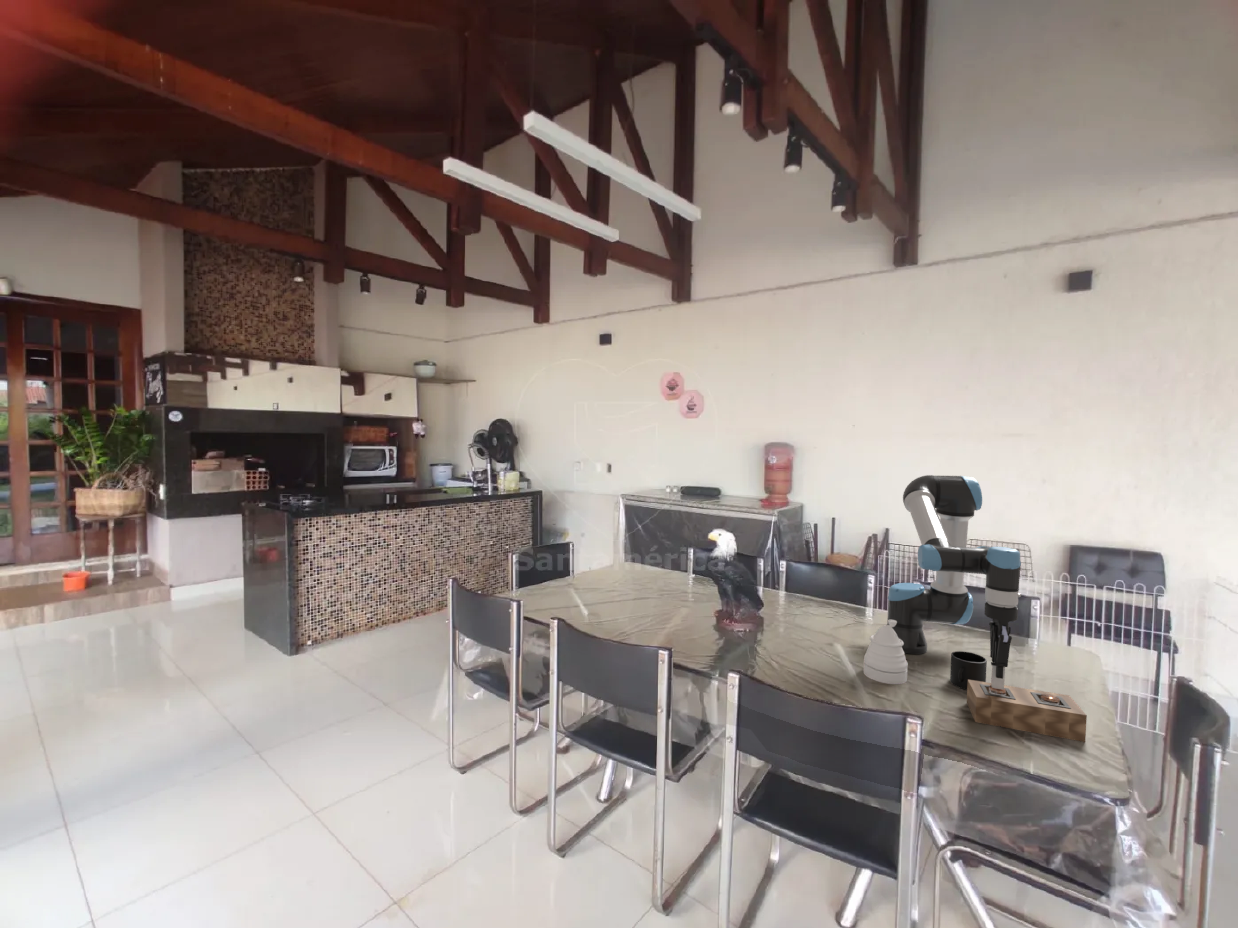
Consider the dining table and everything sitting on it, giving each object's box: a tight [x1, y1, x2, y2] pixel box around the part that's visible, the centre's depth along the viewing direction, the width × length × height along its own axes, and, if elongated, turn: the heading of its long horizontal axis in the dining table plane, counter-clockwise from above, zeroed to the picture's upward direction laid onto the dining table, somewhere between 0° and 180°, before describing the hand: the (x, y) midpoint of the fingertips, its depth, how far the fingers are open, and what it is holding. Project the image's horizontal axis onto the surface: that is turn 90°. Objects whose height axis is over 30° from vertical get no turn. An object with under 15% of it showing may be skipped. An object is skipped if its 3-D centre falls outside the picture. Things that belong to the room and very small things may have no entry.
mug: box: [949, 650, 988, 691], centre depth 172 cm, size 9×12×9 cm
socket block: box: [966, 680, 1088, 743], centre depth 150 cm, size 24×12×7 cm, turn 67°
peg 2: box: [1041, 694, 1060, 705], centre depth 148 cm, size 4×4×7 cm
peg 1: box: [988, 685, 1006, 696], centre depth 153 cm, size 4×4×7 cm
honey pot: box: [863, 619, 909, 685], centre depth 179 cm, size 13×13×18 cm
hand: (997, 687), depth 152 cm, fingers closed
